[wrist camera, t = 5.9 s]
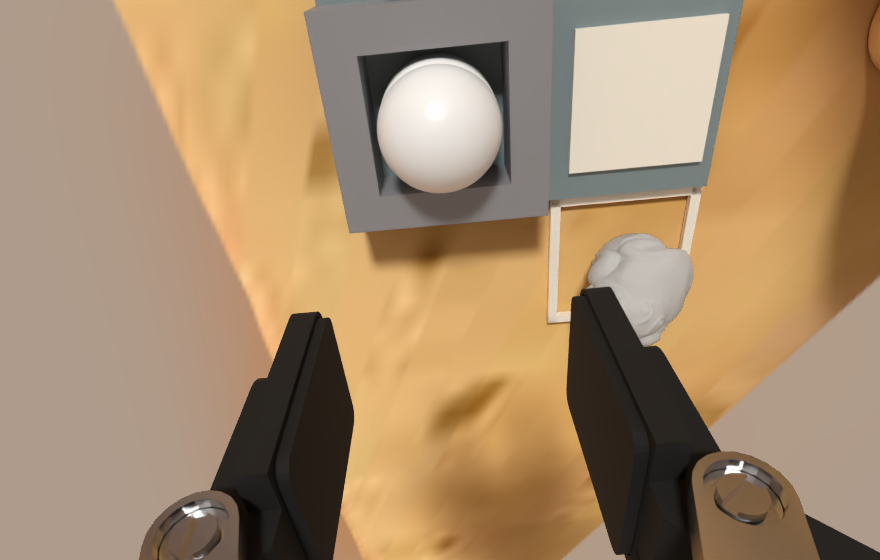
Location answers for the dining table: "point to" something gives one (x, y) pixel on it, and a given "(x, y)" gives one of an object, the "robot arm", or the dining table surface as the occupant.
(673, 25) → the game board
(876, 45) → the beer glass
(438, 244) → the dining table surface
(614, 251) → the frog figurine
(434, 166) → the dome button
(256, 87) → the dining table surface
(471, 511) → the dining table surface
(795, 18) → the dining table surface
